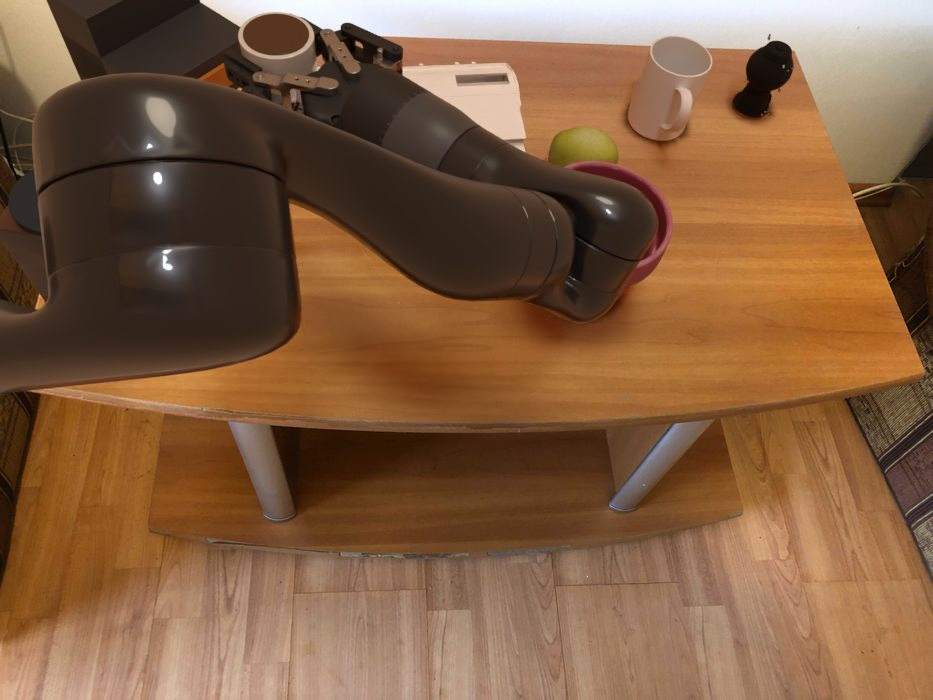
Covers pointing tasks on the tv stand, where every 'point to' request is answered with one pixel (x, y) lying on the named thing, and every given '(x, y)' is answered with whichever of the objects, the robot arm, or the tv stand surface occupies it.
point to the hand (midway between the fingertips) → (258, 42)
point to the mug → (669, 87)
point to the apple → (582, 147)
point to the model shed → (477, 94)
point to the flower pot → (658, 202)
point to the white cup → (279, 44)
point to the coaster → (25, 203)
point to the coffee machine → (146, 37)
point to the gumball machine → (764, 78)
